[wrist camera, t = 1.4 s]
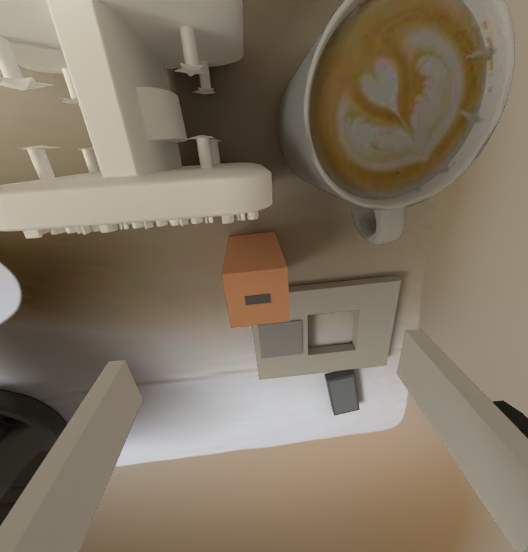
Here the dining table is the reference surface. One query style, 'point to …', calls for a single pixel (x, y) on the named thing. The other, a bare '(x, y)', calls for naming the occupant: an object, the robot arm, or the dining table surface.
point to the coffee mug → (397, 102)
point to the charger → (255, 280)
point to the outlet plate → (327, 299)
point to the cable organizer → (126, 114)
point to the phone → (342, 391)
